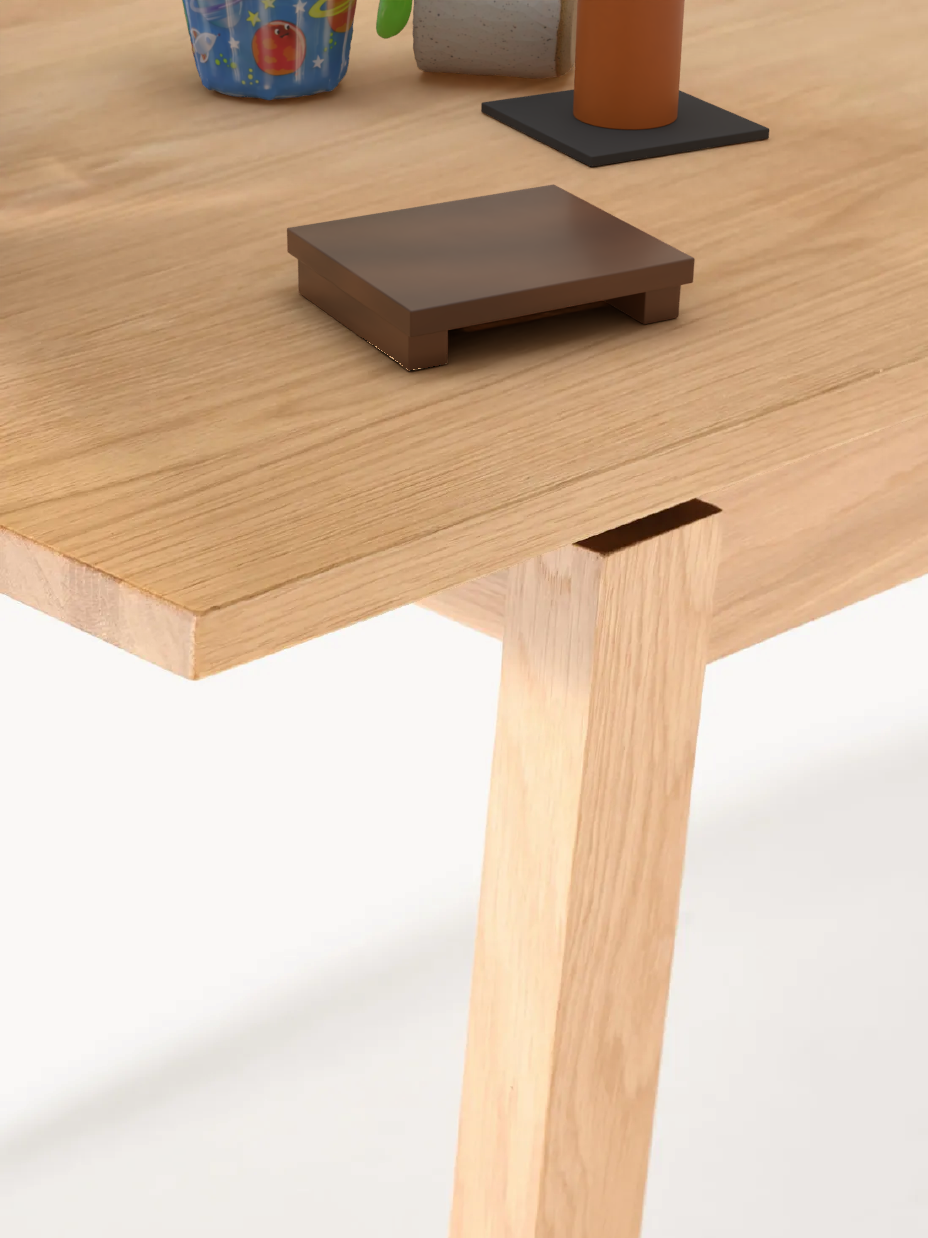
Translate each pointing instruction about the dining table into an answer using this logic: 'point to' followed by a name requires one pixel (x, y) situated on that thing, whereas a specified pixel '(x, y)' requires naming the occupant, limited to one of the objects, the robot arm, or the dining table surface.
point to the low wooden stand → (480, 267)
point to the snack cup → (279, 43)
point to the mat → (601, 146)
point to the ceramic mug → (495, 37)
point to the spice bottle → (628, 63)
